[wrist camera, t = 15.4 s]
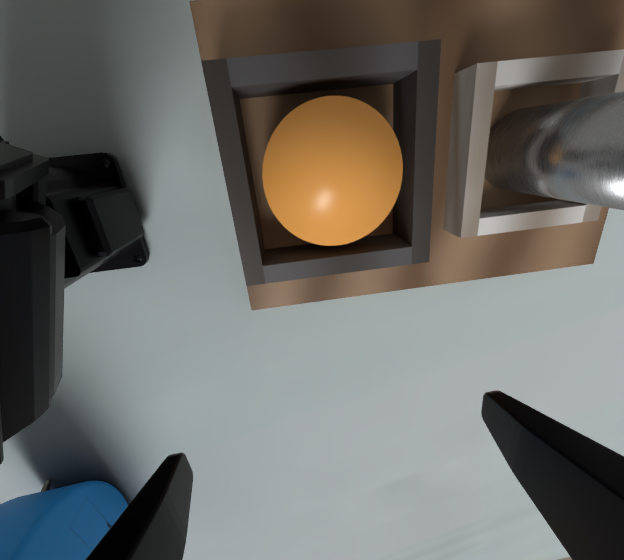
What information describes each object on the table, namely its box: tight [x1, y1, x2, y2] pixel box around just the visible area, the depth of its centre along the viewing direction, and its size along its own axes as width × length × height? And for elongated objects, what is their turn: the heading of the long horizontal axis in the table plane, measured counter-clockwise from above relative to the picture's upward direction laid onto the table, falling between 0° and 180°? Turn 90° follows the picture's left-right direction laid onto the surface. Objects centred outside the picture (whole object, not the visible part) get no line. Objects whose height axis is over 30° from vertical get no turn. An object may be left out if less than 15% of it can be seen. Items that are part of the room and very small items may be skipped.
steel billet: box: [484, 91, 624, 210], centre depth 14 cm, size 4×4×8 cm
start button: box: [262, 96, 403, 246], centre depth 15 cm, size 7×7×2 cm
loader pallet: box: [190, 0, 624, 310], centre depth 17 cm, size 24×16×4 cm, turn 96°
